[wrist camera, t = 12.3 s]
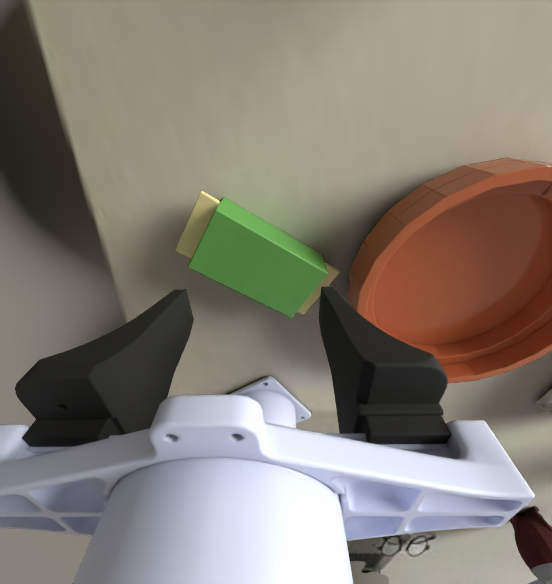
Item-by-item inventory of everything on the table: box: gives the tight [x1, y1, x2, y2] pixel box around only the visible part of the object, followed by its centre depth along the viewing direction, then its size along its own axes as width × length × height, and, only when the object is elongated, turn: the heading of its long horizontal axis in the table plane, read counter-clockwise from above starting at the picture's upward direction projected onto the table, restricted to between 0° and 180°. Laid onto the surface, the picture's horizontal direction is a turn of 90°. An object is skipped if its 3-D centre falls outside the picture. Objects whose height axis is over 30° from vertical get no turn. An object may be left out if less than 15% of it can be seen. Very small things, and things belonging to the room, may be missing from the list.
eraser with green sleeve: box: [175, 191, 339, 318], centre depth 19 cm, size 4×10×3 cm, turn 59°
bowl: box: [347, 158, 552, 383], centre depth 19 cm, size 16×16×4 cm
